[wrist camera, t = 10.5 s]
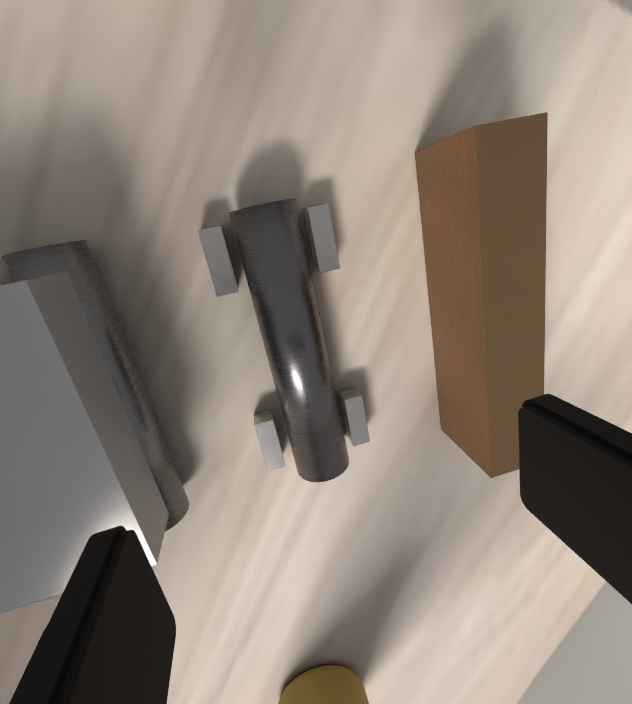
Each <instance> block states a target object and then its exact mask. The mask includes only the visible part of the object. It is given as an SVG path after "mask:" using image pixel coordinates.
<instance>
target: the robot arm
mask: <svg viewBox="0 0 632 704" xmlns="http://www.w3.org/2000/svg"><path fill="white" fill-rule="evenodd" d="M518 430H519V467H520V495H521V499H522V502H523V504H524V505H525V507H526V508H527V509H528V510H529V511H530V512H531V513H532V514H533V515H534V516H535V517H537V518H538V519H539V520H540V521H541V522H542V523H543V524H544V525H545V526H546V527H548V528H549V529H550V530H551V531H552V532H553V533H554V534H555V535H556V536H557V537H559V538H560V539H561V540H562V541H563V542H564V543H565V544H566V545H567V546H568V547H570V548H571V549H572V550H573V551H574V552H575V553H576V554H577V555H578V556H579V557H581V558H582V559H583V560H584V561H585V562H586V563H587V564H588V565H589V566H590V567H592V568H593V569H594V570H595V571H596V572H597V573H598V574H599V575H600V576H601V577H603V578H604V579H605V580H606V581H607V582H608V583H609V584H610V585H611V586H612V587H614V588H615V589H616V590H617V591H618V592H619V593H620V594H621V595H622V596H623V597H625V598H626V599H627V600H628V601H629V602H630V603H631V604H632V433H630V432H628V431H625V430H623V429H621V428H619V427H617V426H615V425H613V424H611V423H609V422H607V421H605V420H603V419H601V418H599V417H597V416H595V415H592V414H590V413H588V412H586V411H584V410H582V409H580V408H578V407H576V406H574V405H572V404H570V403H568V402H566V401H564V400H561V399H559V398H557V397H555V396H553V395H550V394H544V395H541V396H538V397H535V398H531V399H528V400H526V401H524V402H523V404H522V408H521V409H519V411H518ZM175 637H176V624H175V619H174V616H173V613H172V611H171V609H170V607H169V604H168V602H167V600H166V598H165V596H164V593H163V591H162V589H161V587H160V585H159V582H158V580H157V578H156V576H155V574H154V571H153V569H152V567H151V565H150V563H149V560H148V558H147V556H146V554H145V552H144V550H143V547H142V545H141V543H140V541H139V539H138V536H137V534H136V533H135V531H134V530H128V531H127V530H126V529H125V528H124V527H123V526H117V527H114V528H111V529H108V530H104V531H101V532H98V533H95V534H93V535H91V536H90V538H89V539H88V541H87V543H86V545H85V547H84V550H83V552H82V554H81V556H80V558H79V560H78V562H77V564H76V567H75V569H74V571H73V573H72V575H71V577H70V579H69V581H68V583H67V586H66V588H65V590H64V592H63V594H62V596H61V598H60V600H59V602H58V605H57V607H56V609H55V611H54V613H53V615H52V617H51V619H50V622H49V624H48V625H47V627H46V629H45V630H44V632H43V634H42V636H41V638H40V640H39V642H38V644H37V646H36V649H35V651H34V653H33V655H32V657H31V659H30V661H29V663H28V665H27V668H26V670H25V672H24V674H23V676H22V678H21V680H20V682H19V684H18V686H17V689H16V691H15V693H14V695H13V697H12V699H11V701H10V703H9V704H166V703H167V696H168V688H169V681H170V674H171V667H172V659H173V652H174V645H175Z"/></svg>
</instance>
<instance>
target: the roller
mask: <svg viewBox="0 0 632 704" xmlns="http://www.w3.org/2000/svg"><path fill="white" fill-rule="evenodd" d="M229 214H230V218H231V221H232V225H233V229H234V233H235V237H236V240H237V244H238V248H239V252H240V255H241V259H242V263H243V267H244V271H245V274H246V278H247V282H248V286H249V289H250V293H251V297H252V301H253V305H254V308H255V312H256V316H257V320H258V323H259V327H260V331H261V335H262V339H263V342H264V346H265V350H266V354H267V357H268V361H269V365H270V369H271V373H272V376H273V380H274V384H275V388H276V391H277V395H278V399H279V403H280V407H281V410H282V414H283V418H284V422H285V425H286V429H287V433H288V437H289V441H290V444H291V448H292V452H293V456H294V459H295V463H296V467H297V471H298V474H299V475H300V476H301V477H302V478H303V479H305V480H307V481H311V482H324V481H328V480H331V479H334V478H336V477H338V476H339V475H341V474H342V473H343V472H344V471H345V470H346V469H347V467H348V465H349V457H348V452H347V447H346V442H345V437H344V432H343V428H342V423H341V418H340V413H339V408H338V403H337V398H336V394H335V389H334V384H333V379H332V374H331V369H330V364H329V359H328V355H327V350H326V345H325V340H324V335H323V330H322V325H321V320H320V316H319V311H318V306H317V301H316V296H315V291H314V286H313V282H312V277H311V272H310V267H309V262H308V257H307V252H306V247H305V243H304V238H303V233H302V228H301V223H300V218H299V213H298V208H297V204H296V199H288V200H282V201H277V202H272V203H267V204H262V205H257V206H253V207H249V208H244V209H240V210H237V211H233V212H230V213H229Z"/></svg>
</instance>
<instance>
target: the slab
mask: <svg viewBox="0 0 632 704" xmlns="http://www.w3.org/2000/svg"><path fill="white" fill-rule="evenodd" d="M168 515H169V513H168V510H167V508H166V506H165V503H164V501H163V499H162V496H161V494H160V491H159V489H158V487H157V484H156V482H155V479H154V477H153V475H152V472H151V470H150V468H149V465H148V463H147V460H146V458H145V456H144V453H143V451H142V449H141V446H140V444H139V441H138V439H137V437H136V434H135V432H134V429H133V427H132V425H131V422H130V420H129V418H128V415H127V413H126V410H125V408H124V406H123V403H122V401H121V399H120V396H119V394H118V391H117V389H116V387H115V384H114V382H113V379H112V377H111V375H110V372H109V370H108V368H107V365H106V363H105V360H104V358H103V356H102V353H101V351H100V348H99V346H98V344H97V341H96V339H95V337H94V334H93V332H92V329H91V327H90V325H89V322H88V320H87V318H86V315H85V313H84V310H83V308H82V306H81V303H80V301H79V298H78V296H77V294H76V291H75V289H74V287H73V284H72V282H71V279H70V277H69V275H68V272H67V271H64V272H59V273H54V274H49V275H45V276H40V277H35V278H31V279H26V280H21V281H16V282H12V283H7V284H2V285H0V613H3V612H6V611H9V610H12V609H15V608H19V607H22V606H25V605H28V604H31V603H35V602H38V601H41V600H44V599H47V598H51V597H54V596H57V595H60V594H63V592H64V590H65V588H66V586H67V583H68V581H69V579H70V577H71V575H72V573H73V571H74V569H75V567H76V564H77V562H78V560H79V558H80V556H81V554H82V552H83V550H84V547H85V545H86V543H87V541H88V539H89V538H90V536H91V535H93V534H95V533H98V532H101V531H104V530H108V529H111V528H114V527H117V526H123V527H124V528H125V529H126V530H127V531H128V530H134V531H135V533H136V534H137V536H138V539H139V541H140V543H141V545H142V547H143V550H144V552H145V554H146V556H147V558H148V560H149V563H150V565H151V566H153V565H156V564H157V561H158V557H159V553H160V549H161V545H162V541H163V536H164V532H165V528H166V524H167V520H168Z"/></svg>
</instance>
